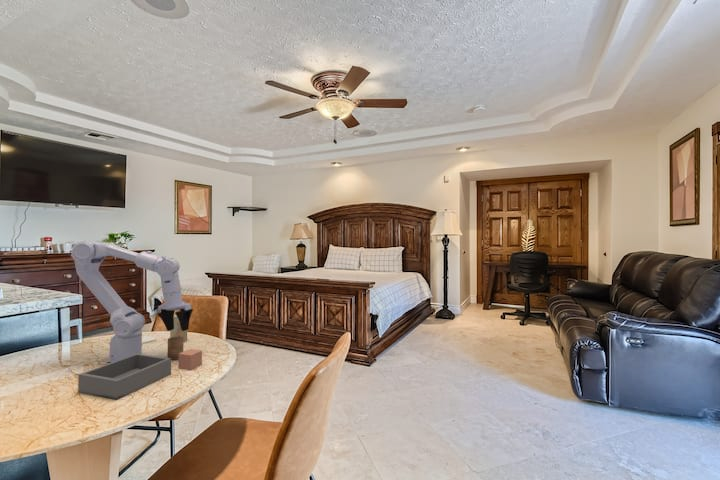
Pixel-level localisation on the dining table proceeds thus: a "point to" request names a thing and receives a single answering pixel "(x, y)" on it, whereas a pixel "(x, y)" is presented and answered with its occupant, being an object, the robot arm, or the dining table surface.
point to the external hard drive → (147, 339)
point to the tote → (124, 376)
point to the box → (178, 330)
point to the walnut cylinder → (175, 347)
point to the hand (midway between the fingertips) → (177, 330)
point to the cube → (190, 359)
